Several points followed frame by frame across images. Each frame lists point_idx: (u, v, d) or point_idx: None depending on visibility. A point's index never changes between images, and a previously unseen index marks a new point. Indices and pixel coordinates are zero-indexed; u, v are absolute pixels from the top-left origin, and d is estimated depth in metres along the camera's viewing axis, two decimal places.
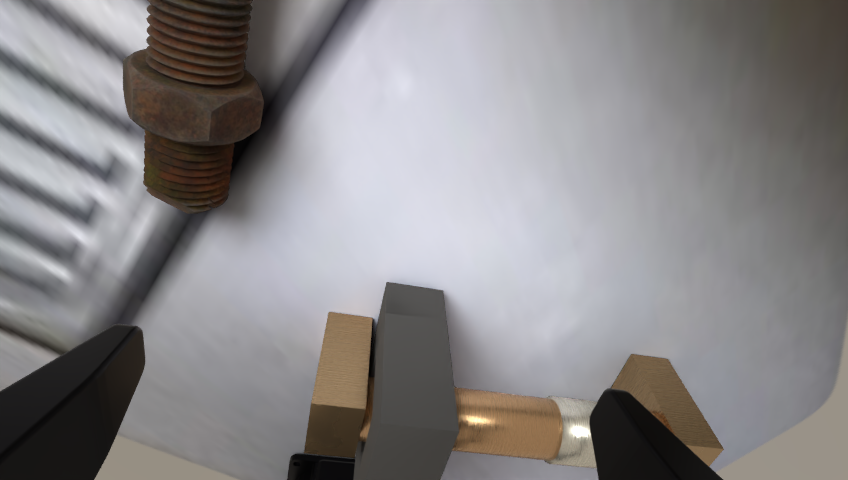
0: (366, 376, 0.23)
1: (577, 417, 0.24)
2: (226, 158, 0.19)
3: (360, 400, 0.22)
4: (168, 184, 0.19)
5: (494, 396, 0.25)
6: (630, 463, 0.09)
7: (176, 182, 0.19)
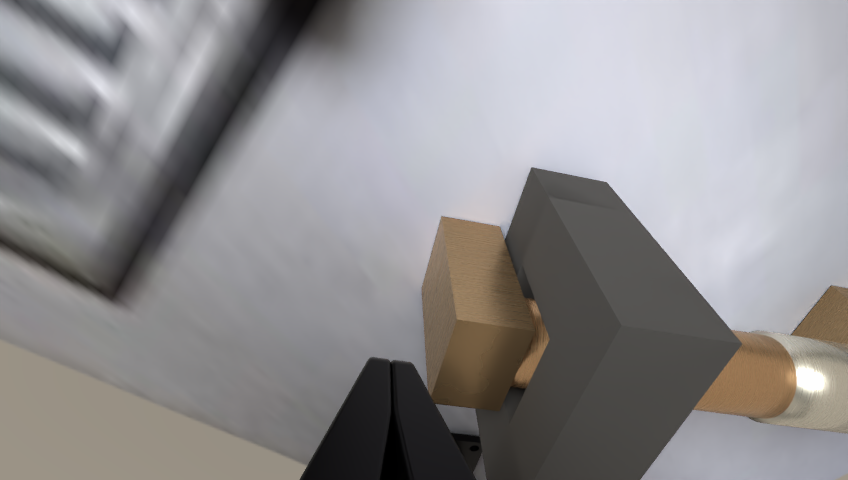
0: (519, 290, 0.16)
1: (812, 355, 0.17)
2: None
3: (523, 319, 0.15)
4: None
5: None
6: None
7: None
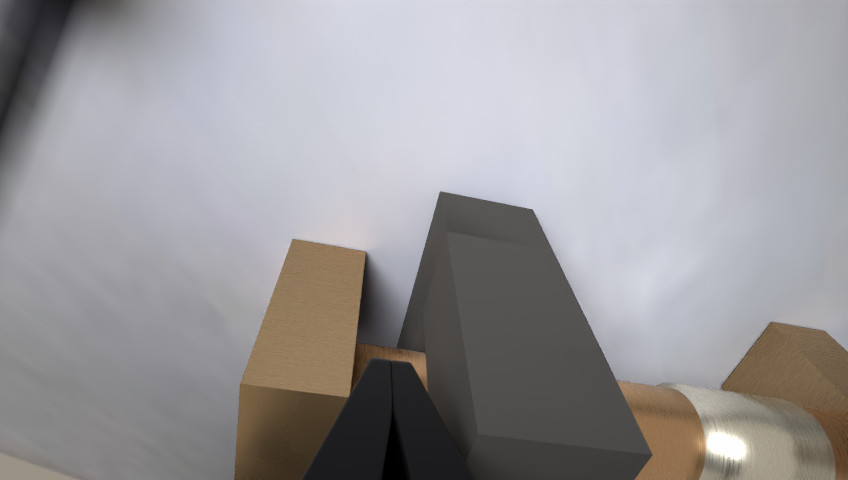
0: (353, 339, 0.13)
1: (727, 419, 0.14)
2: None
3: (339, 380, 0.11)
4: None
5: None
6: None
7: None
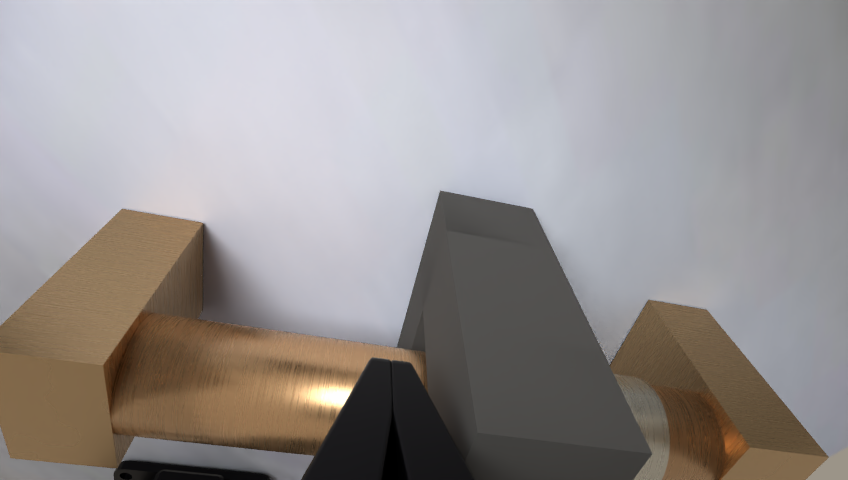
0: (139, 307, 0.12)
1: None
2: None
3: (100, 348, 0.11)
4: None
5: (399, 353, 0.13)
6: None
7: None
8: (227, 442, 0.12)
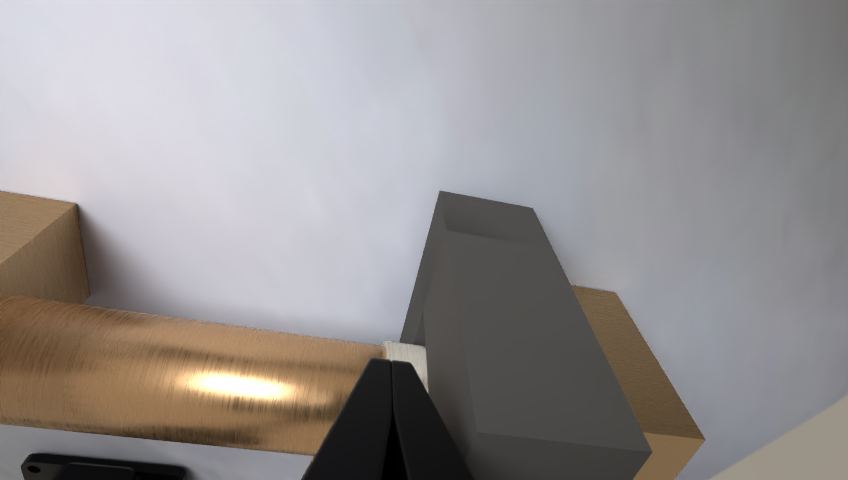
0: None
1: None
2: None
3: None
4: None
5: (257, 334, 0.13)
6: None
7: None
8: (61, 426, 0.11)
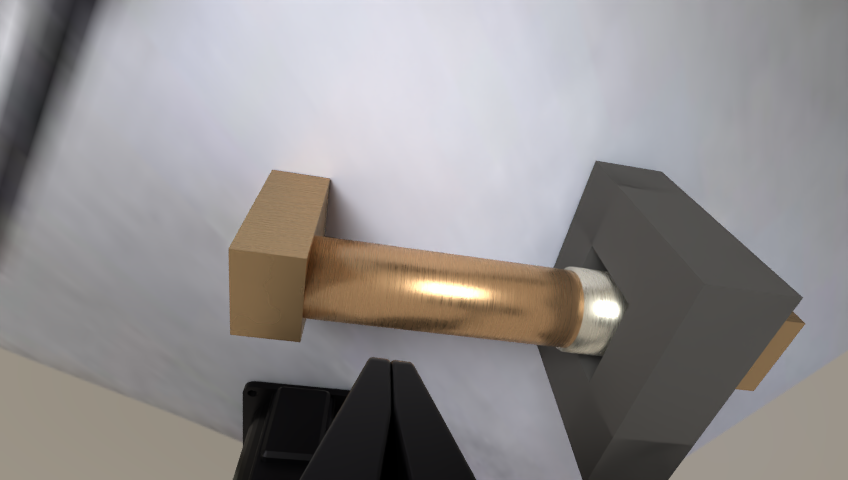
0: (313, 228, 0.17)
1: (603, 284, 0.18)
2: None
3: (300, 249, 0.16)
4: None
5: (489, 260, 0.18)
6: None
7: None
8: (378, 319, 0.17)
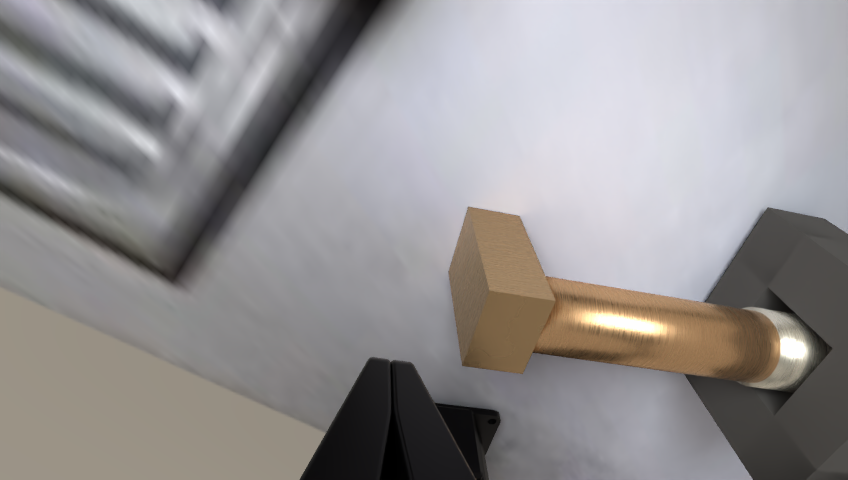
0: (540, 269, 0.19)
1: (794, 326, 0.20)
2: None
3: (545, 291, 0.17)
4: None
5: (688, 301, 0.20)
6: None
7: None
8: (598, 355, 0.18)
